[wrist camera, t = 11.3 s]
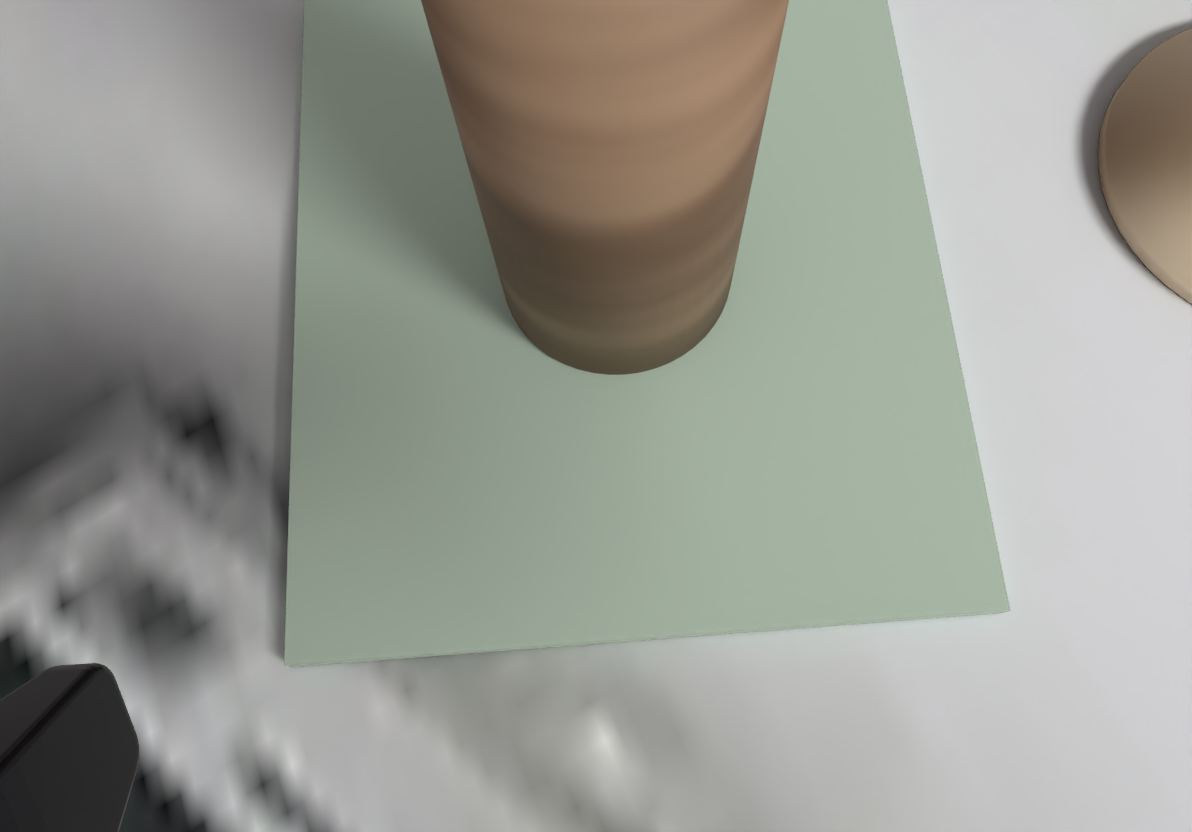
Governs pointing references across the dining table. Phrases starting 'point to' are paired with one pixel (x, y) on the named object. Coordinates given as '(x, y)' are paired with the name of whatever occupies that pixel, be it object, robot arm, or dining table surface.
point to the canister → (611, 161)
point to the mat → (620, 386)
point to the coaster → (1153, 161)
